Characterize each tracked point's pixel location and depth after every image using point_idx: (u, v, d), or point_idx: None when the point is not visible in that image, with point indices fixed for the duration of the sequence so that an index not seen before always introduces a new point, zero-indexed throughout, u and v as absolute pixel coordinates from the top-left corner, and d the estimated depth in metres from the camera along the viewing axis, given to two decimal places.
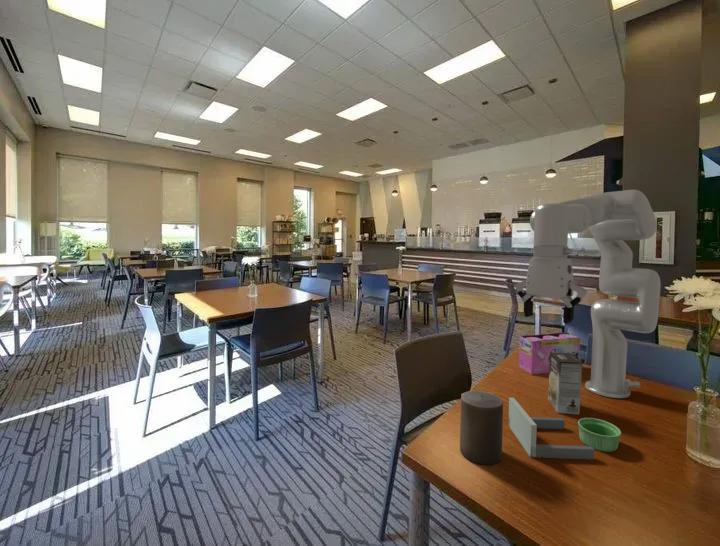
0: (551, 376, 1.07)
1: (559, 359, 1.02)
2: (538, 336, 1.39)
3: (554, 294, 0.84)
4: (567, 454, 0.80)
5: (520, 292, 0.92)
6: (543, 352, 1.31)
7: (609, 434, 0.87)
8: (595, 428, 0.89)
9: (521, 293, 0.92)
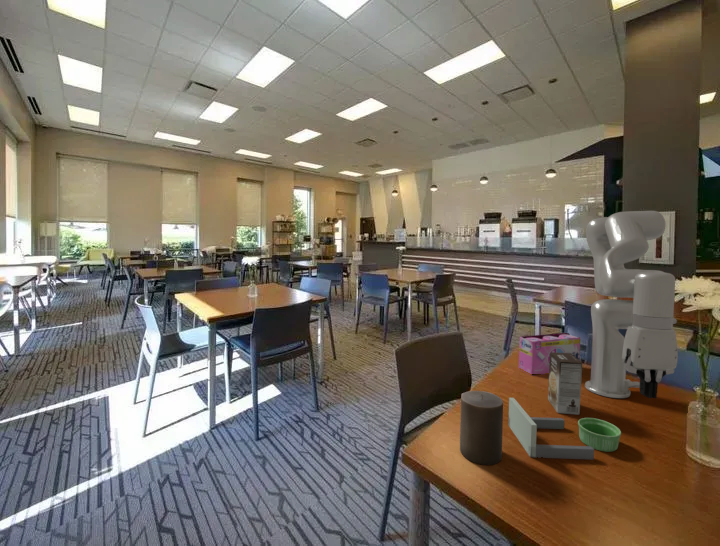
0: (551, 376, 1.07)
1: (559, 359, 1.02)
2: (538, 336, 1.39)
3: (667, 366, 0.81)
4: (567, 454, 0.80)
5: (641, 371, 0.83)
6: (543, 353, 1.31)
7: (609, 434, 0.87)
8: (595, 428, 0.89)
9: (641, 371, 0.83)
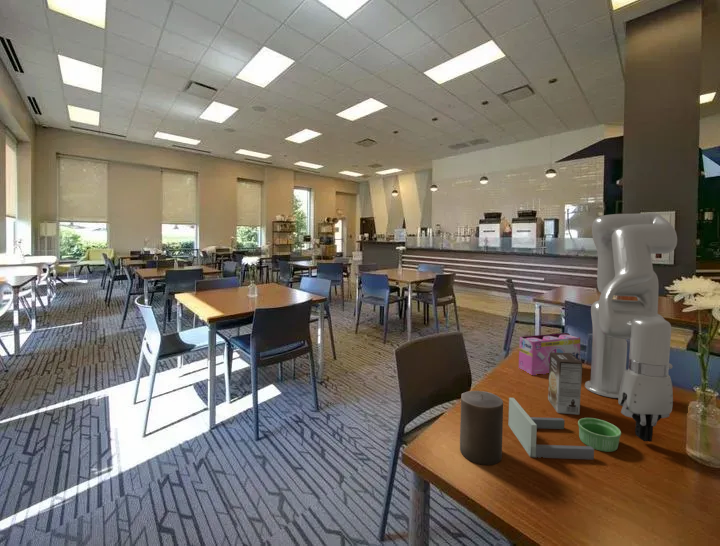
0: (551, 376, 1.07)
1: (559, 359, 1.02)
2: (538, 336, 1.38)
3: (662, 411, 0.82)
4: (567, 454, 0.80)
5: (636, 415, 0.84)
6: (543, 353, 1.30)
7: (609, 434, 0.87)
8: (595, 428, 0.89)
9: (637, 415, 0.84)
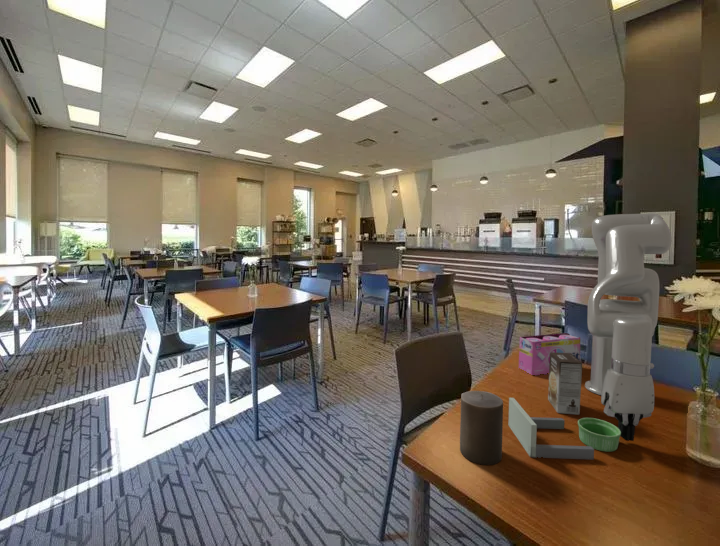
0: (551, 376, 1.07)
1: (559, 359, 1.02)
2: (538, 337, 1.38)
3: (644, 410, 0.83)
4: (567, 454, 0.80)
5: (619, 415, 0.84)
6: (543, 353, 1.30)
7: (609, 434, 0.87)
8: (595, 428, 0.89)
9: (619, 414, 0.85)
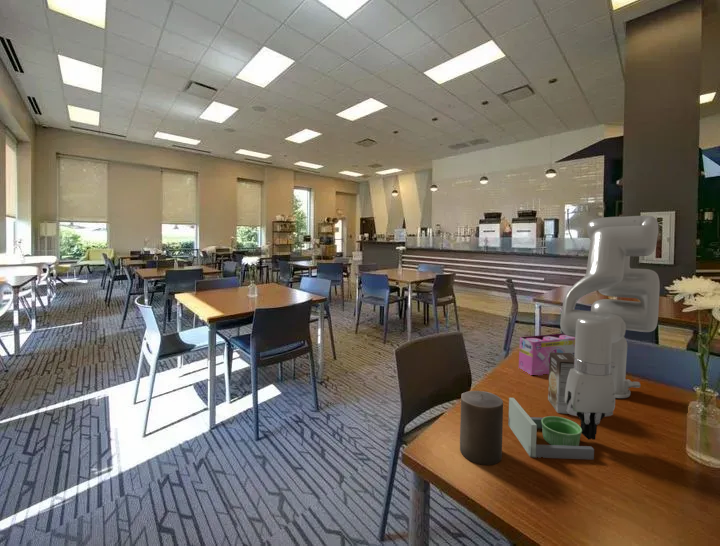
0: (551, 376, 1.07)
1: (559, 359, 1.02)
2: (538, 337, 1.38)
3: (604, 409, 0.83)
4: (567, 454, 0.80)
5: (581, 414, 0.85)
6: (543, 353, 1.30)
7: (572, 432, 0.88)
8: (559, 427, 0.90)
9: (581, 413, 0.85)
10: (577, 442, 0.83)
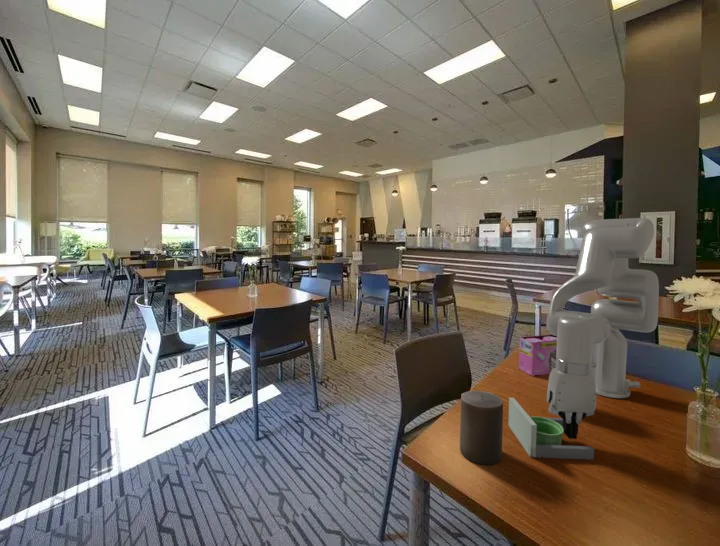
0: None
1: None
2: (538, 337, 1.38)
3: (586, 409, 0.84)
4: (567, 454, 0.80)
5: (562, 413, 0.86)
6: (543, 353, 1.30)
7: (554, 432, 0.88)
8: (541, 427, 0.90)
9: (562, 413, 0.86)
10: (559, 442, 0.84)
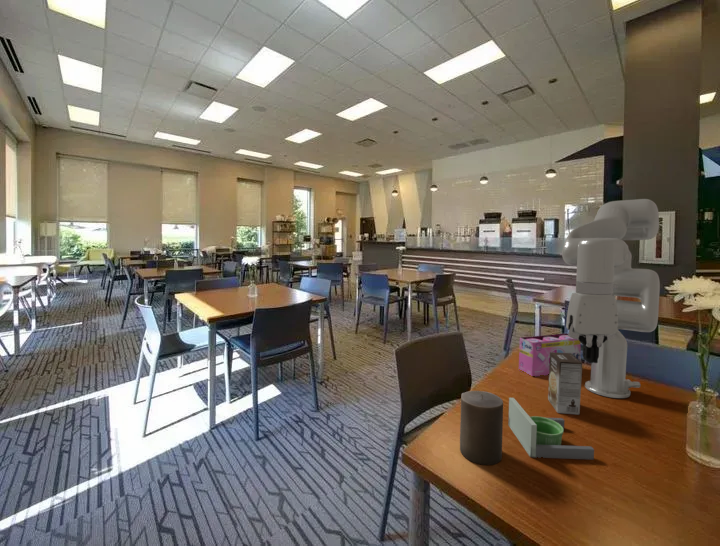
0: (551, 376, 1.07)
1: (559, 359, 1.02)
2: (538, 337, 1.37)
3: (607, 331, 0.82)
4: (567, 454, 0.80)
5: (583, 337, 0.84)
6: (543, 354, 1.29)
7: (553, 432, 0.88)
8: (541, 427, 0.90)
9: (583, 337, 0.84)
10: (559, 442, 0.84)
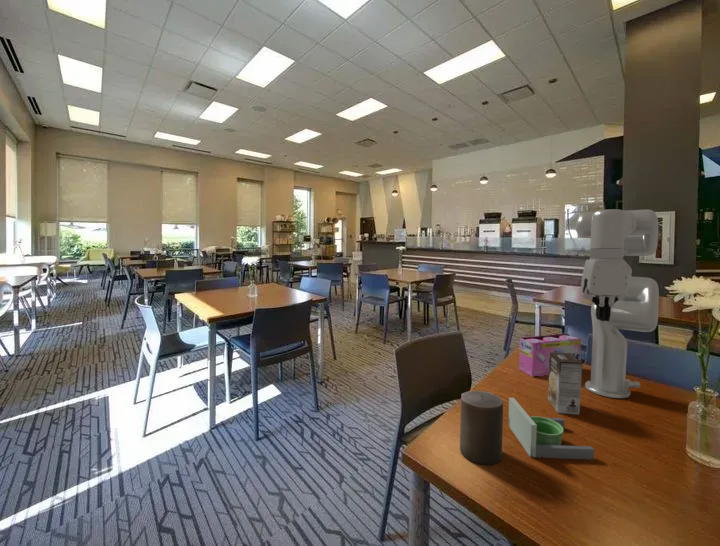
0: (551, 376, 1.07)
1: (559, 359, 1.02)
2: (538, 337, 1.37)
3: (618, 291, 0.92)
4: (567, 454, 0.80)
5: (596, 298, 0.94)
6: (543, 354, 1.29)
7: (553, 432, 0.88)
8: (541, 427, 0.90)
9: (596, 298, 0.94)
10: (559, 442, 0.84)
